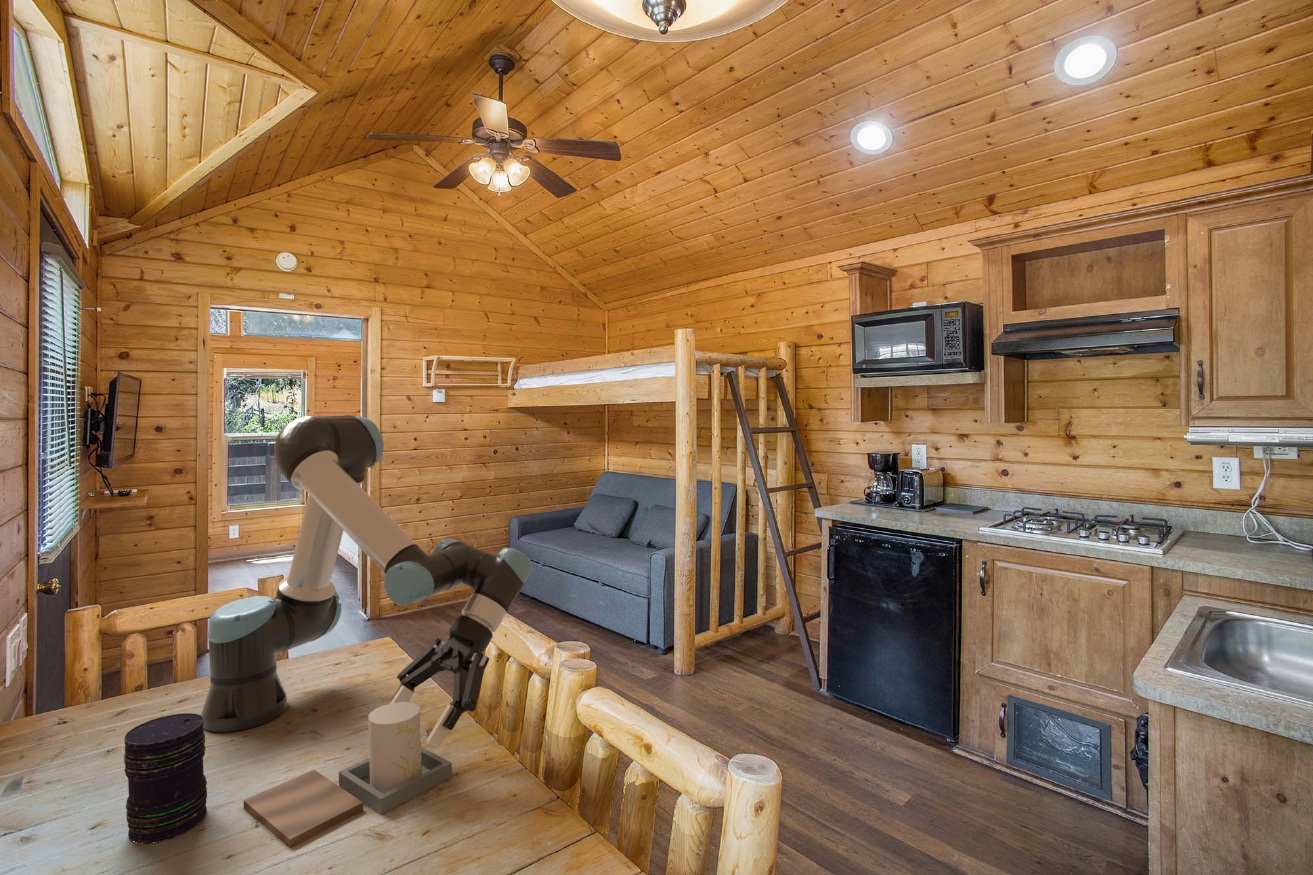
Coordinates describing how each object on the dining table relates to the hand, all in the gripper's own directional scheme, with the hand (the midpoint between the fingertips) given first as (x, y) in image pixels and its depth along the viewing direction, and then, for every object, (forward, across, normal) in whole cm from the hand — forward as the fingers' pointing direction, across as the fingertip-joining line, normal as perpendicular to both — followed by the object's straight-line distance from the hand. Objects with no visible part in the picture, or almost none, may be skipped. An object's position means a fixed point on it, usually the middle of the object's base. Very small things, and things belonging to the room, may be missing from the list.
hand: (407, 734), depth 111 cm
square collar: (+7, +1, -4) cm, 8 cm away
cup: (+7, +1, -4) cm, 8 cm away
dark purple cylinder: (+26, +19, +15) cm, 35 cm away
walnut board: (+16, +6, +5) cm, 18 cm away
